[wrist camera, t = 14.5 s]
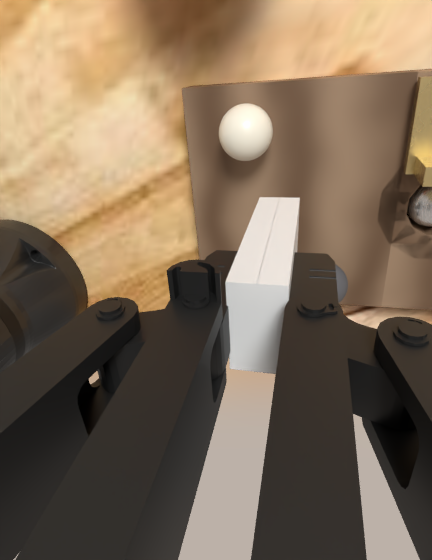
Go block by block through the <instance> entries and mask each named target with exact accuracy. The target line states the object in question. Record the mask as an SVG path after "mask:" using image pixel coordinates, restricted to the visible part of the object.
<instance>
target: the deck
mask: <svg viewBox="0 0 432 560" xmlns="http://www.w3.org/2000/svg"><path fill="white" fill-rule="evenodd" d="M424 76H432V69H424V70H410V71H396V72H382V73H368V74H354V75H340V76H326V77H312V78H298V79H284V80H270V81H256V82H242V83H228V84H214V85H200V86H190V87H186V88H182V96H183V105H184V115H185V124H186V134H187V143H188V153H189V162H190V172H191V181H192V191H193V200H194V210H195V219H196V229H197V238H198V248H199V257H200V260H205V259H206V257H207V256H208V255H210V254H211V253H213V252H214V251H216V250H226V251H238V250H239V247H240V245H241V242H242V240H243V237H244V235H245V232H246V230H247V227H248V225H249V222H250V220H251V217H252V215H253V213H254V210H255V208H256V205H257V203H258V200H259V198H260V197H286V198H300V205H299V225H298V246H297V252H300V253H323V254H328V255H329V256H330V257H331V258H332V259H333V260H334V261H335V264H336V265H337V266H339V267H340V268H341V269H342V270H343V271H344V273H345V274H346V277H347V280H348V290H347V293H346V295H345V297H344V298H343V300H342V301H341V302H339V303H338V304H344V305H360V306H376V307H391V308H407V309H423V310H432V226H423V225H420V224H418V223H416V222H414V221H413V220H412V219H411V218H409V217H408V216H407V209H408V203H409V199H410V197H411V196H412V195H413V194H414V193H415V191H416V190H417V189H418V188H419V186H420V185H421V184H420V183H419V181H418V180H417V179H416V177H415V176H414V175H413V174H405V173H404V172H403V171H404V165H405V158H406V152H407V146H408V140H409V133H410V127H411V121H412V114H413V108H414V102H415V95H416V89H417V83H418V77H424ZM244 103H249V104H254V105H257V106H259V107H260V108H262V109H263V110H264V111H265V112H266V113H267V114H268V116H269V118H270V120H271V123H272V127H273V136H272V140H271V143H270V145H269V147H268V149H267V150H266V151H265V152H264V153H263V154H262V155H261V156H260V157H258V158H256V159H254V160H250V161H240V160H236V159H234V158H232V157H231V156H229V155H228V154H227V153H226V152H225V151H224V149H223V147H222V146H221V143H220V140H219V126H220V123H221V120H222V118H223V117H224V115H225V114H226V113H227V112H228V111H229V110H230V109H231V108H233V107H234V106H236V105H239V104H244Z"/></svg>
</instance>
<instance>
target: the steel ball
mask: <svg viewBox="0 0 432 560" xmlns="http://www.w3.org/2000/svg"><path fill="white" fill-rule="evenodd" d="M407 212H408V214H409V216H410V217H411V219H412V220H413V221H414V222H416V223H418V224H420V225H423V226H432V187H422V185H420V186H419V188H418V189H417V190H416V191H415V193H414V194H413V195H412V196H411V197H410V199H409V203H408V209H407Z"/></svg>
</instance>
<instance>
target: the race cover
mask: <svg viewBox="0 0 432 560" xmlns="http://www.w3.org/2000/svg"><path fill="white" fill-rule="evenodd" d="M403 172H404V173H405V174H413V175H414V176H415V177H416V179H417V180H418V181H419V183H420V184H421V185H422V187H432V76H424V77H418V83H417V89H416V95H415V102H414V108H413V114H412V121H411V127H410V133H409V140H408V146H407V152H406V158H405V165H404V171H403Z"/></svg>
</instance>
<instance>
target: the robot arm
mask: <svg viewBox="0 0 432 560" xmlns="http://www.w3.org/2000/svg"><path fill="white" fill-rule="evenodd" d="M299 205H300V198H286V197H260V198H259V200H258V203H257V205H256V208H255V210H254V213H253V215H252V217H251V220H250V222H249V225H248V227H247V230H246V232H245V235H244V237H243V240H242V242H241V245H240V247H239V250H238V251H226V250H216V251H214V252H213V253H211V254H210V255H208V256H207V257H206V259H205V260H188V261H183V262H179V263H177V264H175V265H173V266H171V267H170V268H169V269H168V270H167V276H168V284H169V291H170V301H169V303H168V304H167V306H166V308H165V309H162V310H156V311H148V312H140V313H139V311H138V306H137V304H136V303H135V302H134V301H133V300H130V299H128V298H120V297H114V298H107V299H105V300H102V301H99V302H97V303H95V304H93V305H91V306H90V307H88V308H87V309H86V306H87V292H86V287H85V283H84V280H83V277H82V275H81V273H80V271H79V269H78V267H77V265H76V264H75V262H74V261H73V259H72V258H71V257H70V255H69V254H68V253H67V252H66V251H65V249H64V248H63V247H62V246H61V245H60V244H58V243H57V242H56V241H55V240H54V239H53V238H51V237H50V236H49V235H47V234H46V233H44V232H43V231H41V230H39V229H37V228H35V227H33V226H31V225H28V224H26V223H23V222H19V221H14V220H0V560H13V559H14V558H15V557H16V556H17V554H18V553H19V552H20V553H19V555H18V556H17V558H16V560H178V557H179V554H180V550H181V546H182V543H183V539H184V535H185V532H186V528H187V524H188V521H189V517H190V513H191V509H192V506H193V502H194V499H195V495H196V491H197V487H198V484H199V481H200V477H201V473H202V470H203V466H204V462H205V458H206V455H207V451H208V448H209V444H210V440H211V436H212V433H213V429H214V426H215V422H216V418H217V415H218V411H219V407H220V404H221V400H222V397H223V393H224V389H225V385H226V364H227V361H228V358H229V359H230V369H237V370H245V371H254V372H263V373H273V374H276V377H275V384H274V392H273V400H272V407H271V414H270V422H269V429H268V437H267V444H266V451H265V459H264V466H263V474H262V482H261V489H260V496H259V504H258V511H257V519H256V526H255V533H254V541H253V549H252V556H251V560H367V559H366V549H365V538H364V528H363V517H362V506H361V495H360V485H359V475H358V464H357V454H356V444H355V432H354V422H353V414H355V415H358V416H360V417H362V422H363V426H364V428H365V431H366V433H367V435H368V438H369V440H370V442H371V445H372V447H373V450H374V452H375V454H376V457H377V459H378V461H379V464H380V466H381V468H382V470H383V473H384V475H385V478H386V480H387V482H388V485H389V487H390V490H391V492H392V494H393V497H394V499H395V501H396V504H397V506H398V509H399V511H400V513H401V515H402V518H403V520H404V523H405V525H406V527H407V530H408V532H409V535H410V537H411V539H412V541H413V544H414V546H415V549H416V551H417V553H418V556H419V558H420V560H432V325H431V324H429V323H427V322H425V321H422V320H419V319H415V318H410V317H394V318H389V319H386V320H384V321H383V322H381V323H380V324H379V326H378V329H374V328H371V327H367V326H364V325H361V324H358V323H356V322H354V321H352V320H350V319H348V318H347V317H346V316H345V315H343V310H342V308H341V306H340V305H339V304H338V292H337V280H336V268H335V261H334V260H333V259H332V258H331V257H330V256H329V255H328V254H323V253H300V252H297V246H298V225H299ZM96 371H98V374H99V379H98V380H97V381H96V382H94V383H93V384H90V383H89V378H90V377H91V376H92V375H93V374H94V373H95V372H96Z"/></svg>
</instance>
